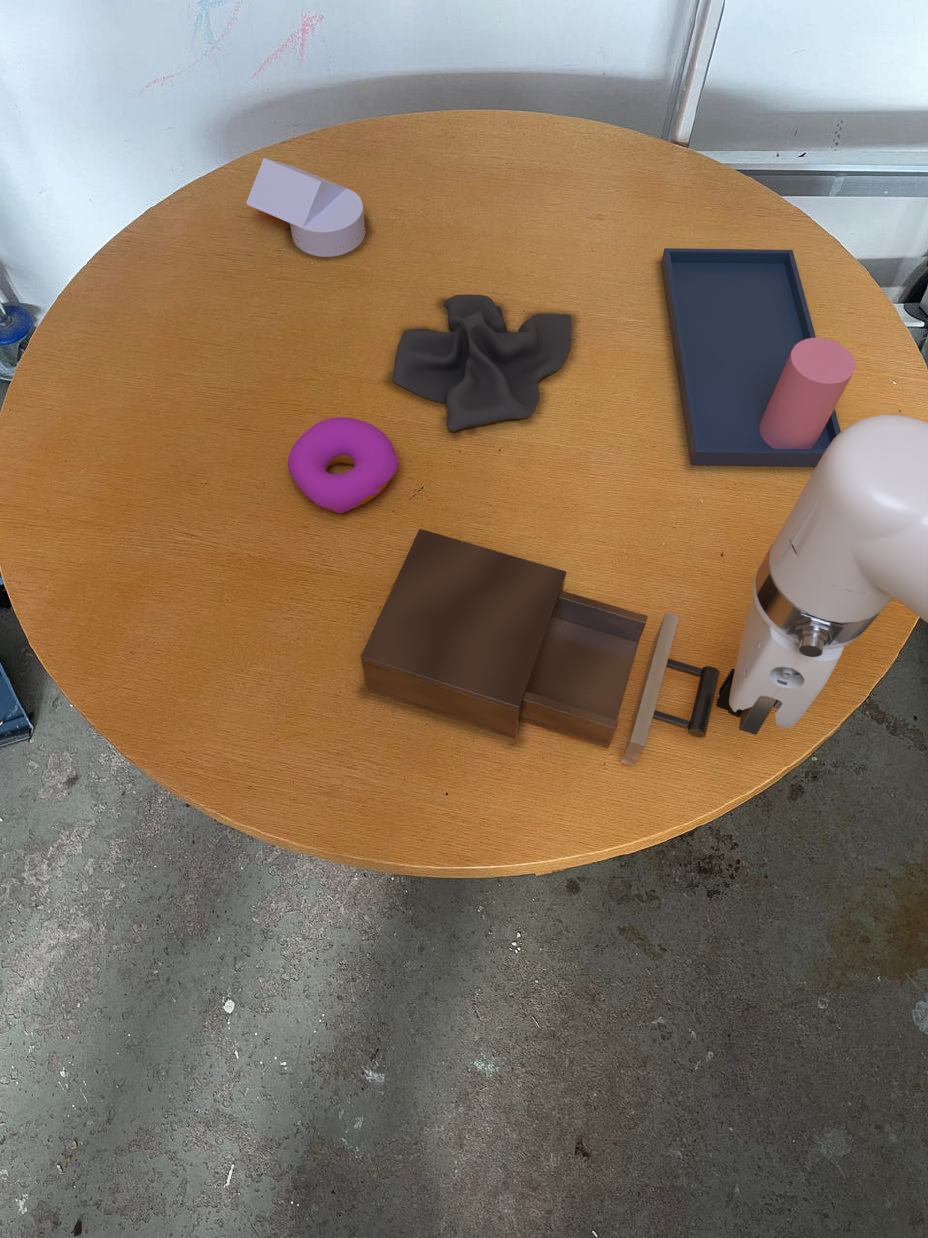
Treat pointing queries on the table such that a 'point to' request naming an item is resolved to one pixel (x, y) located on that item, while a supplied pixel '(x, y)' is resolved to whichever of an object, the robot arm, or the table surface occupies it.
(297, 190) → the wedge on round base
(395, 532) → the table surface
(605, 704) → the drawer
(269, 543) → the table surface
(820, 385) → the cylinder
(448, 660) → the cabinet
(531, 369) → the cloth
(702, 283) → the tray
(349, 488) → the donut
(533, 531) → the table surface
